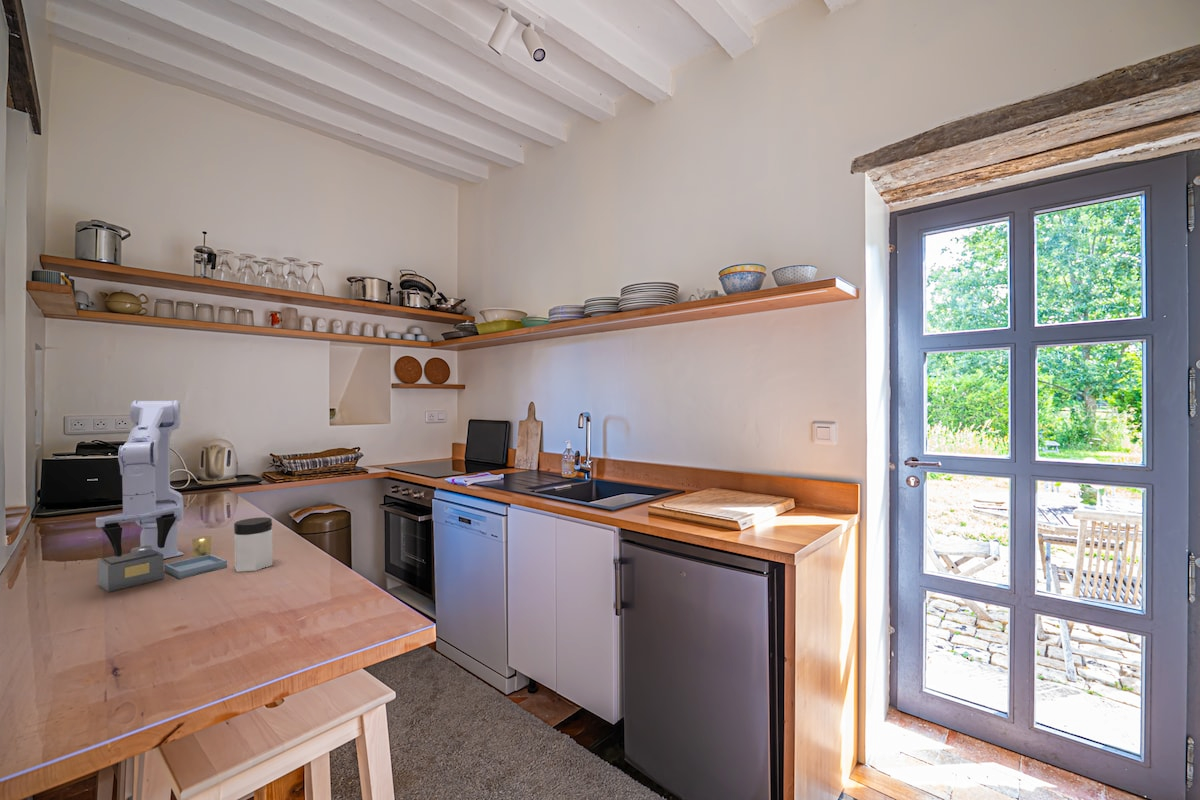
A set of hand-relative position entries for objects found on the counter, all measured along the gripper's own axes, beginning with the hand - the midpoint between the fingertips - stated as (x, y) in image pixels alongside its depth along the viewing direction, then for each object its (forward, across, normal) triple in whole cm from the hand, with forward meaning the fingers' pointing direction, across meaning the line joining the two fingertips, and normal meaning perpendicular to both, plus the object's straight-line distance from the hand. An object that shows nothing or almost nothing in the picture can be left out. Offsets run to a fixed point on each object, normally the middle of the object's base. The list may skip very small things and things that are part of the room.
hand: (140, 551), depth 119 cm
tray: (+8, +12, +4) cm, 15 cm away
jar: (+9, +21, -6) cm, 24 cm away
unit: (+8, 0, +6) cm, 11 cm away
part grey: (+8, +4, +14) cm, 17 cm away
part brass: (+8, +16, +12) cm, 22 cm away
